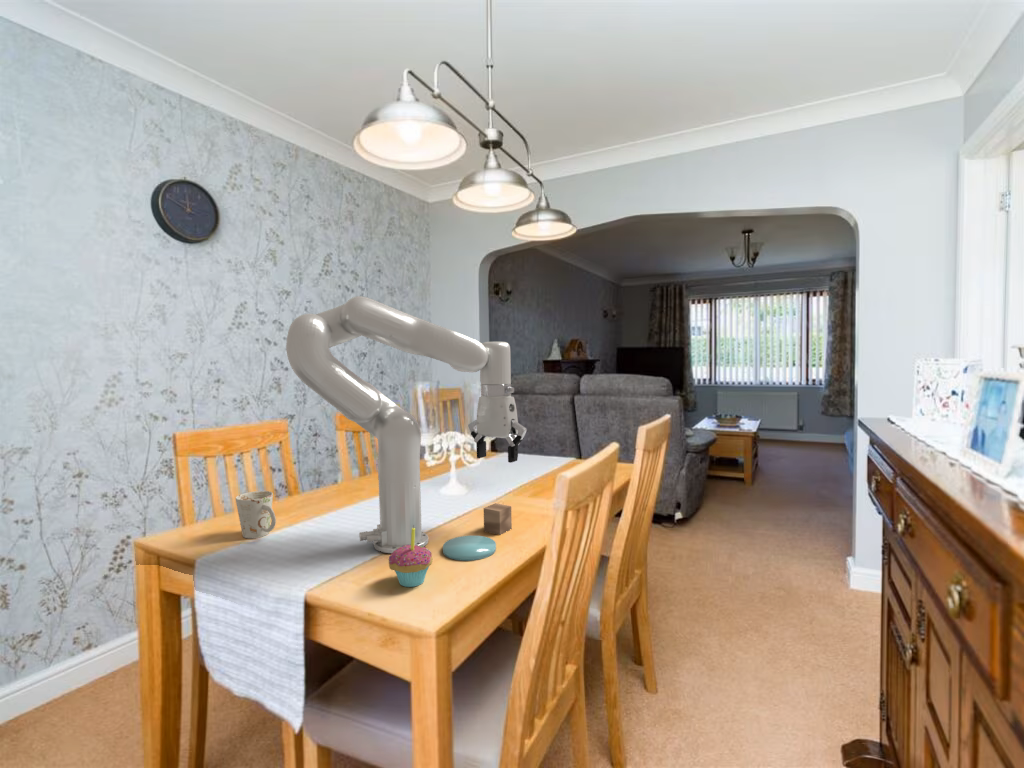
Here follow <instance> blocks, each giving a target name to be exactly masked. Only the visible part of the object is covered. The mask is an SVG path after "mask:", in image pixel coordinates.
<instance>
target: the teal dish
mask: <svg viewBox="0 0 1024 768" xmlns="http://www.w3.org/2000/svg"><path fill="white" fill-rule="evenodd" d="M442 545H443V546H442V553H443V555H444V556H445V557H446V558H447V559H451V560H455V561H463V562H466V561H471V562H472V561H478V560H482V559H486V558H488V557H491V556H492V555H494V554H495V553H496V551H497V542H496V541H495V540H494V539H493V538H490V537H486V536H483V535H462V536H457V537H453V538H450V539H448V540H447V541H445V542H444V543H443V544H442Z"/></svg>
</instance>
